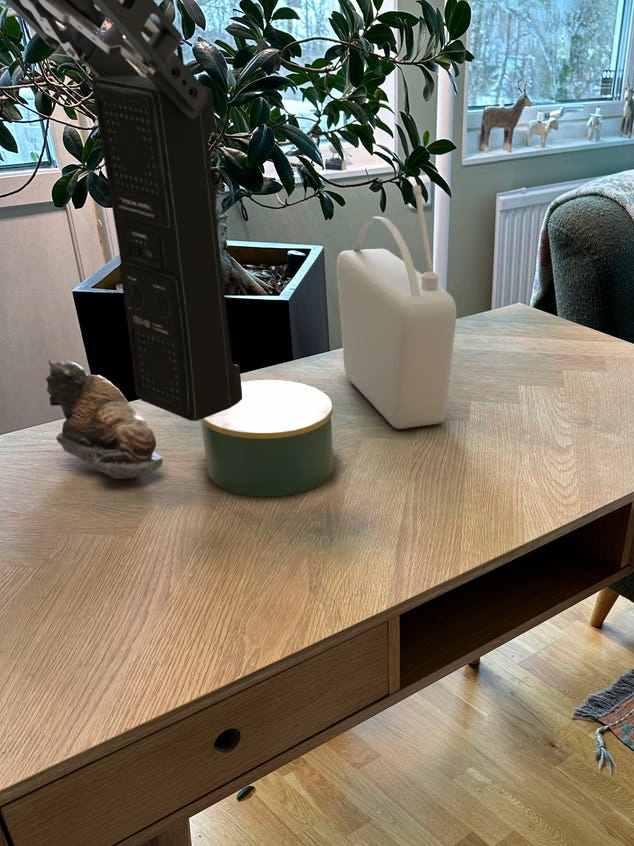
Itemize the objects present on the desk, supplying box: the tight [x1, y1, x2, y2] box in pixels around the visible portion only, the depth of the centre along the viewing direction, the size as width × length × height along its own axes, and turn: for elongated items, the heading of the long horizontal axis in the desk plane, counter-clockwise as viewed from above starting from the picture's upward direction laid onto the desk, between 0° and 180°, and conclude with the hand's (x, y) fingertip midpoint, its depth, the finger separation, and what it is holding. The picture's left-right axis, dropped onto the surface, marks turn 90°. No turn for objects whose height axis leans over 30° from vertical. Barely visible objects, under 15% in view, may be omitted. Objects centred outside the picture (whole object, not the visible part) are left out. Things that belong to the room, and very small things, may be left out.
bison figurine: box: [45, 359, 164, 480], centre depth 88 cm, size 12×7×10 cm, turn 59°
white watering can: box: [336, 184, 457, 430], centre depth 102 cm, size 22×8×25 cm, turn 26°
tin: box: [199, 379, 334, 498], centre depth 91 cm, size 13×13×7 cm
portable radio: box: [91, 41, 242, 422], centre depth 65 cm, size 8×6×25 cm
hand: (164, 99), depth 61 cm, fingers closed on portable radio, 7 cm apart
